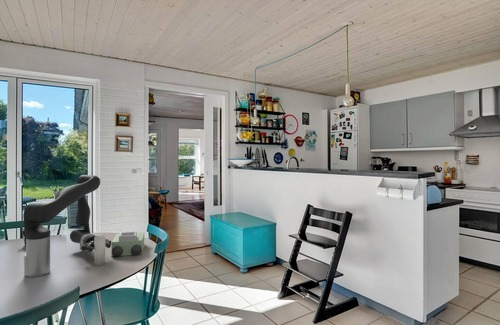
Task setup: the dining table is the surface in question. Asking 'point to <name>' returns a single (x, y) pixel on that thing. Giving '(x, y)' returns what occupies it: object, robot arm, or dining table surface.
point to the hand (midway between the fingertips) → (100, 247)
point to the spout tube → (99, 250)
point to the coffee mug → (24, 237)
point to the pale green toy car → (128, 244)
